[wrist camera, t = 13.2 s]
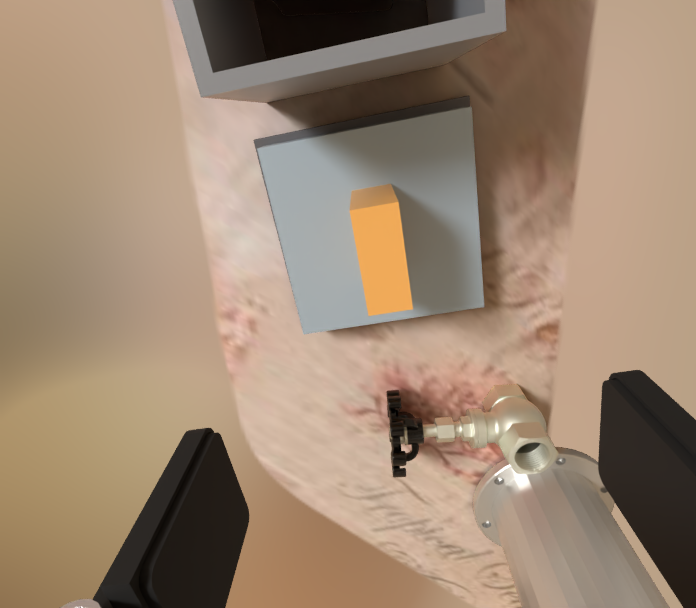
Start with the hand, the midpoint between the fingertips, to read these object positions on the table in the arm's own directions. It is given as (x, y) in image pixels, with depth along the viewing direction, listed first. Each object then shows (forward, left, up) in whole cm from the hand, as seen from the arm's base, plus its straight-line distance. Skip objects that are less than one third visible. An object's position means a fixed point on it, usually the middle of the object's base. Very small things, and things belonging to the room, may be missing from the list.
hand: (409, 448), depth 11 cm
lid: (0, 0, -22) cm, 22 cm away
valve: (-15, +8, -23) cm, 28 cm away
